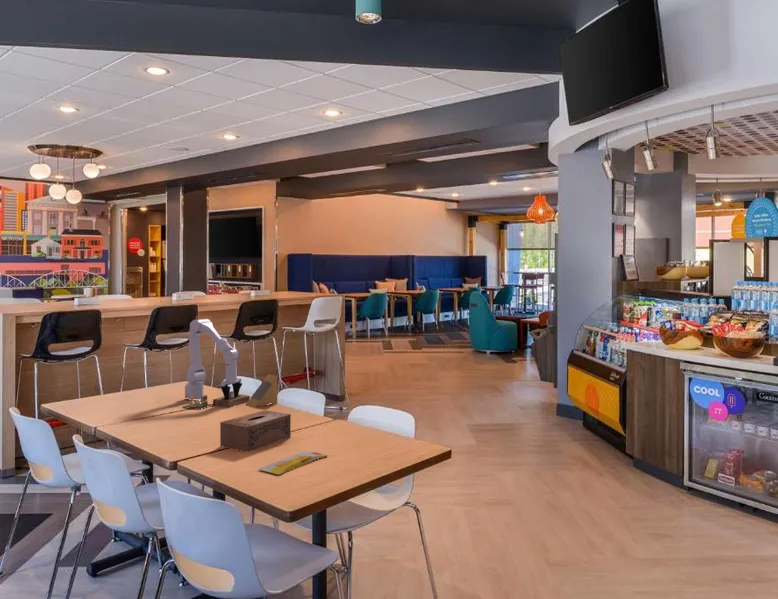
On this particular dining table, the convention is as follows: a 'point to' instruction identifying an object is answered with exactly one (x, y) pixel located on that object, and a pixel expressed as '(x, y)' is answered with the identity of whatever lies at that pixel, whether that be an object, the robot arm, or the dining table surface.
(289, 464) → the food package
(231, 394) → the pin
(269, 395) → the sandwich container
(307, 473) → the dining table surface
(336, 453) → the dining table surface
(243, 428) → the tissue box cover
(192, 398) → the nut base
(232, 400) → the slot block
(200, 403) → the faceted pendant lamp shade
